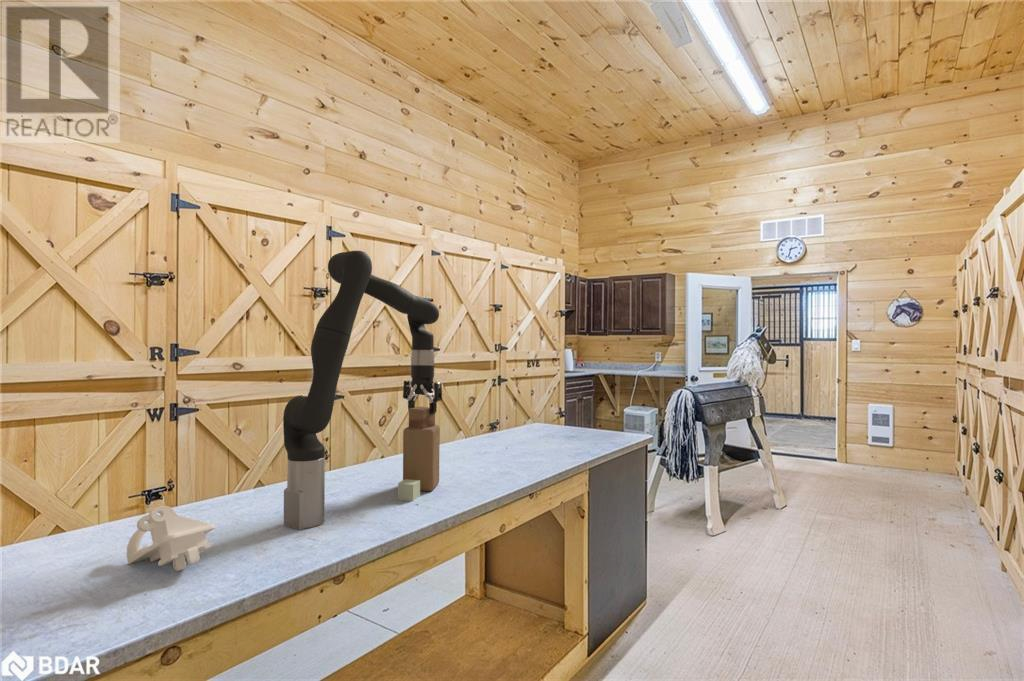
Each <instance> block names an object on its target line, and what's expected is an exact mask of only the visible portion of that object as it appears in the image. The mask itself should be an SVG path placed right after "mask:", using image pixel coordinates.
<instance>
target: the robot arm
mask: <svg viewBox="0 0 1024 681" xmlns="http://www.w3.org/2000/svg"><path fill="white" fill-rule="evenodd" d="M327 271H328V273H329V276H330V277H331V279H332V280H333V281H334V282H336V283H338V284H340V286H339V289H338V292H337V294H336V295H335V297H334V299H333V301H332V302H331V303H330V304H329V305H328V307H327V308H326V310H325V311H324V312H323V313H322V315H321V317H320V318H319V320H318V321H317V324H316V328H315V330H314V333H313V337H312V339H311V343H310V344H311V345H310V356H311V362H312V369H313V371H312V373H313V374H312V381H311V385H310V387H309V391H308V394H307V396H306V395H298V396H295V397H293V398H291V399H290V400H289V401H288V402H287V403H286V405H285V407H284V410H283V419H282V422H283V443H284V448H285V450H286V453H287V454H286V455H287V459H286V460H287V461H286V462H287V465H286V466H287V468H286V471H287V473H286V474H287V475H286V477H287V480H286V481H287V482H286V484H287V485H286V486H287V487H286V488H284V489H283V526H285V527H287V528H293V529H296V530H299V531H300V530H303V529H307V528H308V529H309V528H313V527H317V526H320V525H322V524H323V523H324V522H325V496H326V494H325V492H326V491H325V488H326V487H325V485H326V484H325V482H326V481H325V480H326V479H325V478H326V476H325V475H326V472H325V471H326V447H325V445H324V444H323V443H322V442H321V441H320V439H319V438H318V436H317V434H318V433H321V432H323V431H324V430H325V429H326V428H327V427H328V425H329V423H330V421H331V418H332V414H333V410H334V403H335V400H336V399H335V398H336V393H337V387H338V382H339V378H340V375H341V371H342V368H343V363H344V359H345V356H346V352H347V350H348V346H349V343H350V340H351V339H350V338H351V335H352V332H353V328H354V324H355V321H356V318H357V314H358V311H359V309H360V308H359V307H360V304H361V302H362V299H363V296H364V294H365V295H369V296H370V297H372V298H374V299H376V300H379V301H380V302H381V303H384V304H386V305H387V306H389V307H391V308H392V309H393V310H396V311H397V312H399V313H401V314H404V315H407V317H406V318H407V322H408V327H409V331H410V334H411V354H410V355H411V356H410V378H411V380H410V379H409V380H404V381H403V386H402V387H403V391H402V398H403V399H405V400H407V410H408V411H409V408H415V407H416V398H417V396H419V395H421V396H425V397H426V398H427V399H428V401H429V407H430V414H435V415H436V413H437V404H438V403H439V402H441V401H442V400H443V387H442V385H443V384H442V382H441V381H438V382H436V381H435V382H434V377H435V352H434V351H435V350H434V348H435V347H434V342H435V340H434V339H435V338H434V334H433V333H432V332H431V331H428V330H427V329H426V326H425V325H432V324H435V323H436V322H437V321H438V319H439V317H440V311H439V310H440V309H439V308H438V307H437V305H436V304H435V303H434V302H432V301H430V300H428V299H426V298H424V297H422V296H421V297H420V296H418V295H415V294H413V293H412V292H410V291H409V290H407V289H406V288H404V287H402V286H400V285H399V284H396V282H395V283H394V282H392V281H389V280H386V279H383V278H380V277H378V276H375V275H373V274H372V272H373V264H372V259H371V257H370V256H369V254H368V253H367V252H366V251H363V250H350V251H343V252H338V253H335V254H334V255H333V256H331V257H330V259H329V260H328V262H327Z"/></svg>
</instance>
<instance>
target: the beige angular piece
mask: <svg viewBox="0 0 1024 681" xmlns="http://www.w3.org/2000/svg"><path fill="white" fill-rule="evenodd" d="M157 513H159V514H160V515H159V514H157ZM145 522H146V523H145ZM136 528H137V530H135V532H134V533H133V534H132V536H131V537H130V538H129V541H128V544H127V547H126V559H127V564H128V565H132V564H134V563H139V562H141V561H145V560H150V563H151V562H155V561H157V560H159V561H158V562H157V565H158V567H161V566H163V565H164V566H165V565H167V564H168V563H170V562H171V561H172V565H173V570H174V571H176V572H180V571H182V570H185V569H186V568H187V563H188V564H189V565H192V564H195V563H198V562H199V561H200V559H201V556H200V553H202V552H204V551H205V550H207V549H209V548H211V547H212V543H211V542H208V540H207V536H206V535H207V534H208V533H210V532H212V531H214V530H215V529H216V525H215V524H213V523H211V524H208V522H204V521H200V520H196V519H193V518H189V517H185V516H181V515H179V514H177V513H176V512H175V510H174V508H173V507H171V506H169V505H160V506H156V507H155V508H153V509H152V510H151V511H149V513H148V514H145V515H144V516H142V517H141V518H139V519H138V520H137V522H136ZM146 532H150V536H151V541H152V544H151V545H149V546H144V547H143V548H141V547H140V545H141V541H142V538H143V537H144V535H145V534H146ZM140 548H141V549H140ZM185 556H186V558H185ZM186 560H187V563H186Z"/></svg>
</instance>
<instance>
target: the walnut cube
mask: <svg viewBox="0 0 1024 681" xmlns="http://www.w3.org/2000/svg"><path fill="white" fill-rule="evenodd" d="M435 425H436V413H435V414H430V406H415V408H409V410H408V427H414V428H423V429H424V428H428V427H432V426H435Z"/></svg>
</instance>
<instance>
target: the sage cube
mask: <svg viewBox="0 0 1024 681" xmlns="http://www.w3.org/2000/svg"><path fill="white" fill-rule="evenodd" d="M420 497H421V491H420V480H409V479H405V480H403V479H402V480H401V481H400V482H398V483H397V500H398V501H408V502H413V501H415V500H417V499H418V498H420Z"/></svg>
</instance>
